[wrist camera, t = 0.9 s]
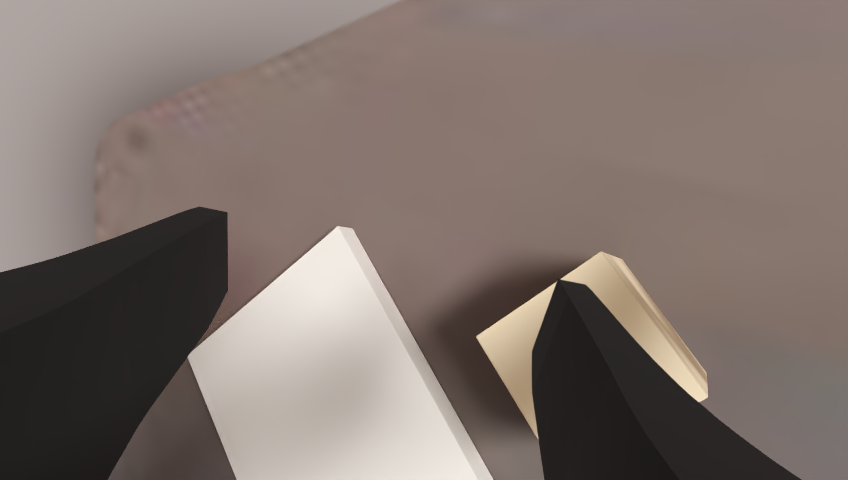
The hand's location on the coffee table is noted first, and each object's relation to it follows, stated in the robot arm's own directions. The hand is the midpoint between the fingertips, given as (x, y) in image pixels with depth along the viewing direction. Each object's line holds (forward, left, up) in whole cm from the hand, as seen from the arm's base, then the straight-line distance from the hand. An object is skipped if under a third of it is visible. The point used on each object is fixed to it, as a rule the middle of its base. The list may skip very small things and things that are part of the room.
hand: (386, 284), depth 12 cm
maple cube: (-4, -1, -12) cm, 13 cm away
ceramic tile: (0, +12, -12) cm, 17 cm away
